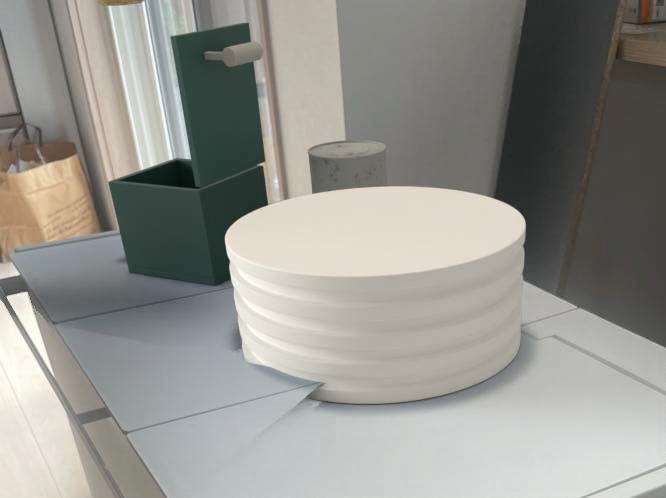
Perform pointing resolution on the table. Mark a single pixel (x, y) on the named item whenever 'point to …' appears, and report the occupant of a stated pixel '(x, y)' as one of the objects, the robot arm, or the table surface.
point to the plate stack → (380, 290)
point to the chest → (182, 219)
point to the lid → (219, 100)
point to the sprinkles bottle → (118, 2)
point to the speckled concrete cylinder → (347, 165)
